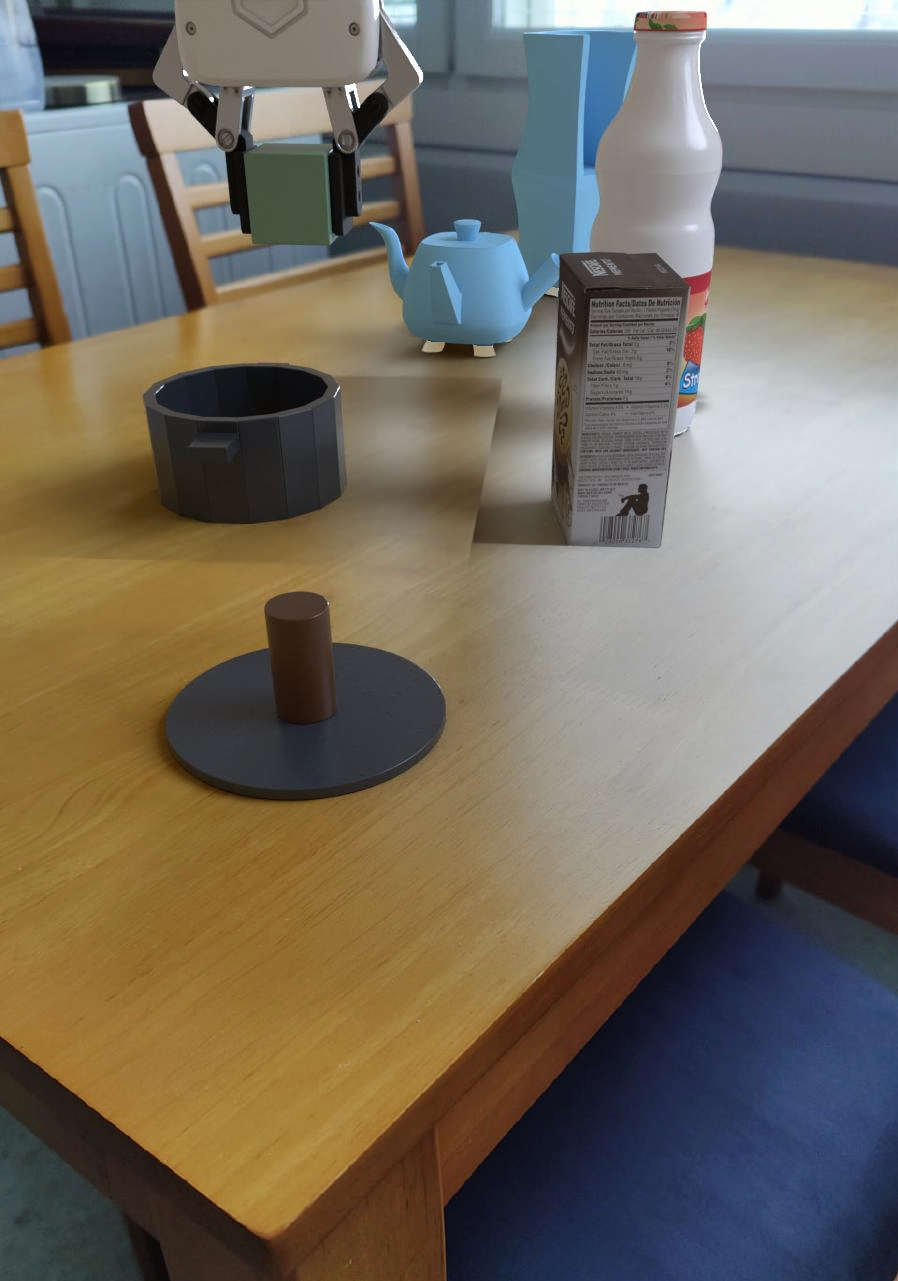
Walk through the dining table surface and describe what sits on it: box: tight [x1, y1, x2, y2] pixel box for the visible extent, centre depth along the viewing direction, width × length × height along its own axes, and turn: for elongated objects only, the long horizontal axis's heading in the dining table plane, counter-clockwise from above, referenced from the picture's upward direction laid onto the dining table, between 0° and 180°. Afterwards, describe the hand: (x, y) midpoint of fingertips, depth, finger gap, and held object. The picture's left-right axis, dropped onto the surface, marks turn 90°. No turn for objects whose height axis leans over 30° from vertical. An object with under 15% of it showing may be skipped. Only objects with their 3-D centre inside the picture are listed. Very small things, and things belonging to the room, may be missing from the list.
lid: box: [165, 590, 447, 801], centre depth 54 cm, size 14×14×7 cm
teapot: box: [369, 218, 560, 346], centre depth 110 cm, size 15×14×11 cm
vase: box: [510, 29, 637, 288], centre depth 127 cm, size 10×10×25 cm
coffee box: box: [550, 252, 691, 549], centre depth 72 cm, size 9×6×16 cm
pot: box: [142, 362, 348, 525], centre depth 76 cm, size 13×18×8 cm
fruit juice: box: [588, 10, 724, 433], centre depth 85 cm, size 9×9×28 cm
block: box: [244, 142, 339, 246], centre depth 63 cm, size 4×4×4 cm
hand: (298, 227), depth 64 cm, fingers closed on block, 4 cm apart
